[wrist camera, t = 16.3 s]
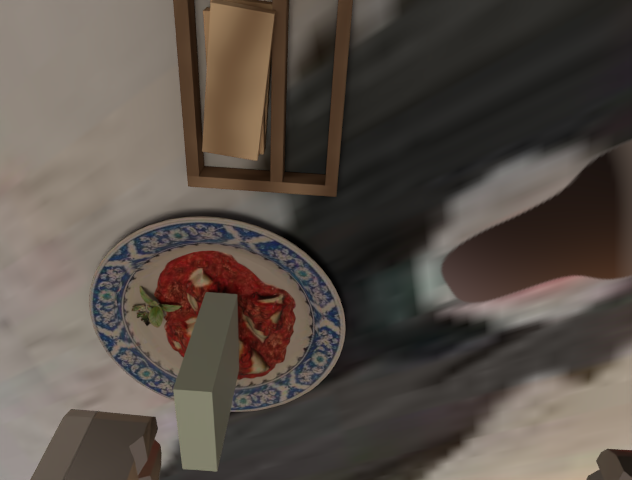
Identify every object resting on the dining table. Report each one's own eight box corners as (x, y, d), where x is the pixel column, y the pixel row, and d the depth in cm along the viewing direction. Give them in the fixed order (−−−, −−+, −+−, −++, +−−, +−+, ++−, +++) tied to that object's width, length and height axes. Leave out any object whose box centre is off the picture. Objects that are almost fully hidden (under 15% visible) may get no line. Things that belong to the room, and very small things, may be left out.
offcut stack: (279, 0, 41) (274, 10, 38) (269, 146, 48) (264, 165, 45) (210, -9, 41) (199, 1, 38) (208, 139, 48) (199, 157, 44)
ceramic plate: (392, 274, 55) (395, 294, 52) (280, 423, 68) (277, 444, 65) (140, 159, 49) (129, 174, 46) (70, 346, 62) (59, 366, 59)
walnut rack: (355, -43, 39) (356, -39, 37) (336, 185, 49) (336, 196, 47) (176, -55, 39) (169, -52, 38) (193, 175, 49) (188, 186, 47)
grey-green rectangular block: (237, 294, 53) (212, 392, 43) (239, 368, 58) (217, 471, 48) (205, 291, 53) (173, 389, 43) (210, 366, 58) (182, 468, 48)
